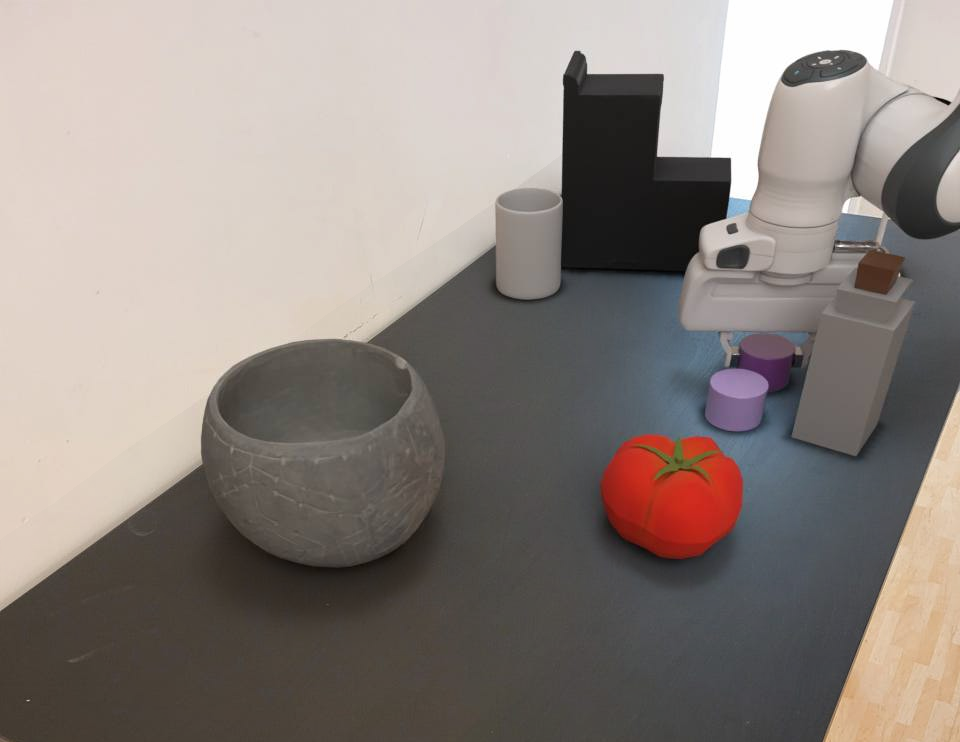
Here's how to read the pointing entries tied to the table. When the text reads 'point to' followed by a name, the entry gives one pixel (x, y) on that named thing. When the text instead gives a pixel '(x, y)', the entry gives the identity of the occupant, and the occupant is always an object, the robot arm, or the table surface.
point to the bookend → (630, 177)
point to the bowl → (323, 450)
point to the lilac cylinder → (736, 399)
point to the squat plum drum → (768, 358)
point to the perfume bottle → (855, 355)
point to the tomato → (672, 494)
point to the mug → (528, 243)
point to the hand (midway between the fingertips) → (763, 365)
